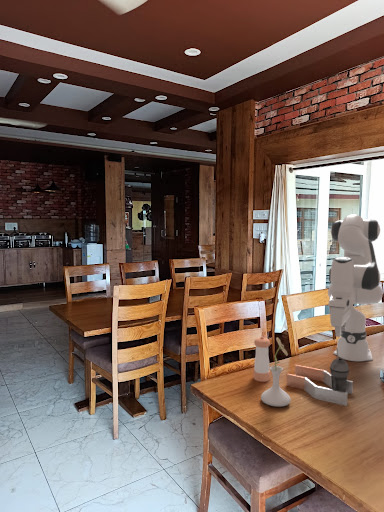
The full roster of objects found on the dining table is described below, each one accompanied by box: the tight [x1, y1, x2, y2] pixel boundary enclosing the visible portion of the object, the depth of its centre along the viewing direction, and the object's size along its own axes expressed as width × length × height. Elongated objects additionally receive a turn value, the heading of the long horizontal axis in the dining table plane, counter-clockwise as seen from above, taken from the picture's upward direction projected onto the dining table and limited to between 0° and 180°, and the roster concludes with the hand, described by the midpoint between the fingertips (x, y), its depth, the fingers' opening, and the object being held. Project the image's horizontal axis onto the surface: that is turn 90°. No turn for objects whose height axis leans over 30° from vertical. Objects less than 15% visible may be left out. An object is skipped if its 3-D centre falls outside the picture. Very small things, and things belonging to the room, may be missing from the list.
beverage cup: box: [329, 347, 350, 392], centre depth 152 cm, size 7×7×20 cm
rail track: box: [286, 364, 354, 407], centre depth 160 cm, size 19×25×5 cm
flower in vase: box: [260, 337, 292, 408], centre depth 148 cm, size 13×11×25 cm
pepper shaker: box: [253, 336, 271, 382], centre depth 170 cm, size 7×7×19 cm
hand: (340, 333), depth 150 cm, fingers open, 8 cm apart
